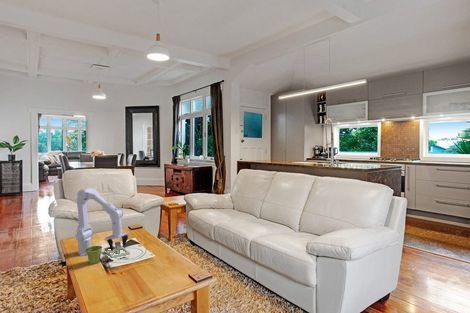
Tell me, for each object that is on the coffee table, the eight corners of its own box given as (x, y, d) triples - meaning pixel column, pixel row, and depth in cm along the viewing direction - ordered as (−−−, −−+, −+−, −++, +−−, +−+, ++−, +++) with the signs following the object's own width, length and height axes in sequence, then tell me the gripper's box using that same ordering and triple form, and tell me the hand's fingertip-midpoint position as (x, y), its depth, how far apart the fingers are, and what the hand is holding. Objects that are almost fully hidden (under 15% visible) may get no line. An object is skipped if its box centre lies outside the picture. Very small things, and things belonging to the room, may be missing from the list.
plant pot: (96, 266, 170) (95, 252, 169) (82, 264, 172) (81, 250, 171) (106, 259, 179) (105, 246, 179) (93, 258, 181) (92, 245, 180)
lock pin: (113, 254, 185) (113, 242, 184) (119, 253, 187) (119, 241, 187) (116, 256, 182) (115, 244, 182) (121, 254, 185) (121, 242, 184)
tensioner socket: (104, 251, 191) (104, 248, 191) (113, 249, 195) (113, 245, 195) (107, 254, 187) (107, 250, 187) (116, 251, 191) (116, 248, 191)
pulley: (115, 248, 196) (114, 244, 196) (123, 246, 200) (123, 242, 200) (118, 251, 192) (118, 247, 192) (127, 249, 196) (126, 245, 196)
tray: (106, 255, 184) (106, 251, 184) (123, 251, 192) (123, 246, 192) (112, 261, 176) (112, 256, 176) (129, 256, 184) (129, 251, 184)
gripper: (107, 232, 175) (108, 253, 176) (130, 227, 185) (131, 247, 186) (103, 229, 180) (104, 250, 181) (126, 224, 190) (126, 244, 191)
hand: (117, 248), depth 184 cm, fingers open, 7 cm apart
